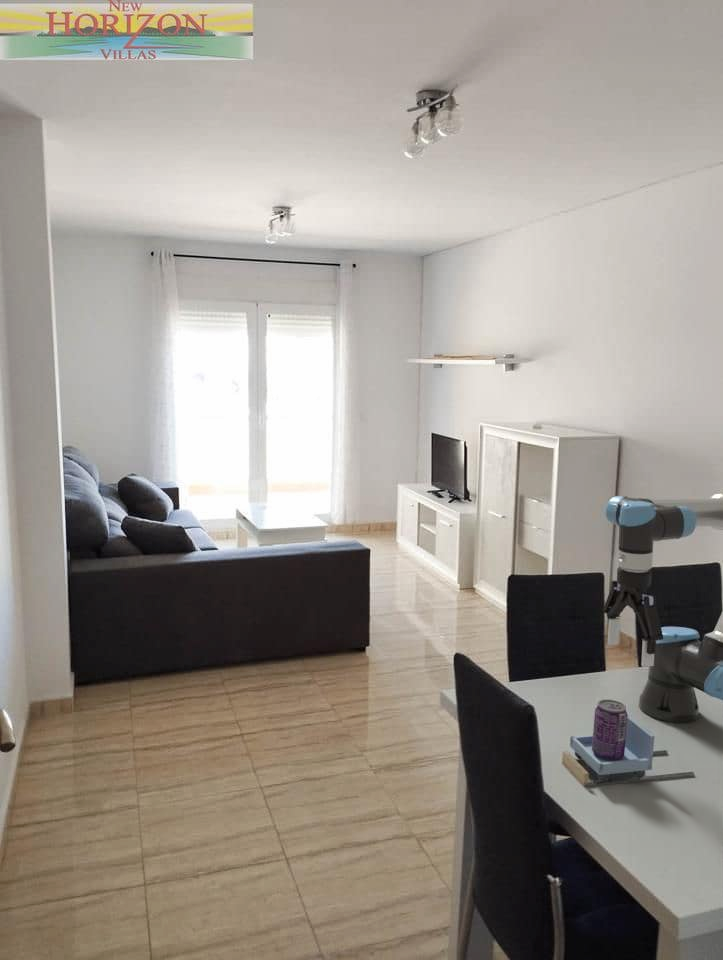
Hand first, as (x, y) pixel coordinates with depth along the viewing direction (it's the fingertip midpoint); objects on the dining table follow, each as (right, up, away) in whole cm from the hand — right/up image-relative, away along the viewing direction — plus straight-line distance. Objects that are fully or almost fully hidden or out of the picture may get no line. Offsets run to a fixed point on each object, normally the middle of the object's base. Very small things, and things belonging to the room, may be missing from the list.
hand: (629, 654), depth 179 cm
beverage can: (-7, -22, -6) cm, 24 cm away
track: (-2, -26, -4) cm, 26 cm away
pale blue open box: (-7, -26, -5) cm, 27 cm away
